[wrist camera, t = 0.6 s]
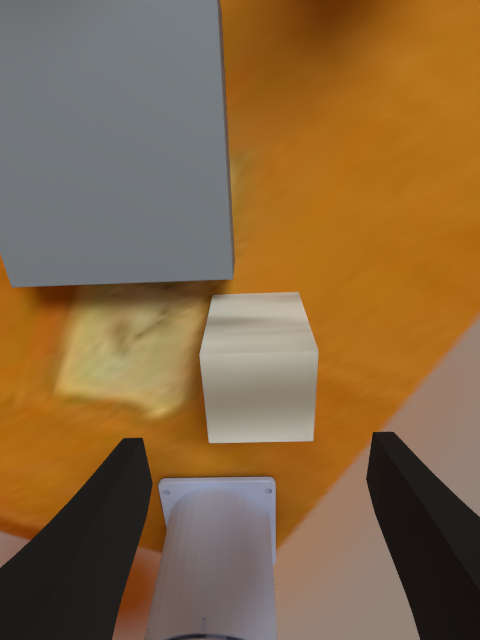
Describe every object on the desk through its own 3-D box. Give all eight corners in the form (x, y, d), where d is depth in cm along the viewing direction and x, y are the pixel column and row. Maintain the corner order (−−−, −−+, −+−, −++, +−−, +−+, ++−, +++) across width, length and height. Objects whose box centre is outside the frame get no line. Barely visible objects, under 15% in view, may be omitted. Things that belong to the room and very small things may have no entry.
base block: (234, 259, 19) (232, 279, 16) (44, 266, 19) (11, 287, 16) (221, 13, 14) (216, -16, 12) (-25, 28, 15) (-86, 4, 12)
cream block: (296, 364, 21) (313, 441, 16) (218, 366, 21) (208, 443, 16) (298, 291, 19) (318, 351, 14) (212, 294, 19) (199, 354, 14)
